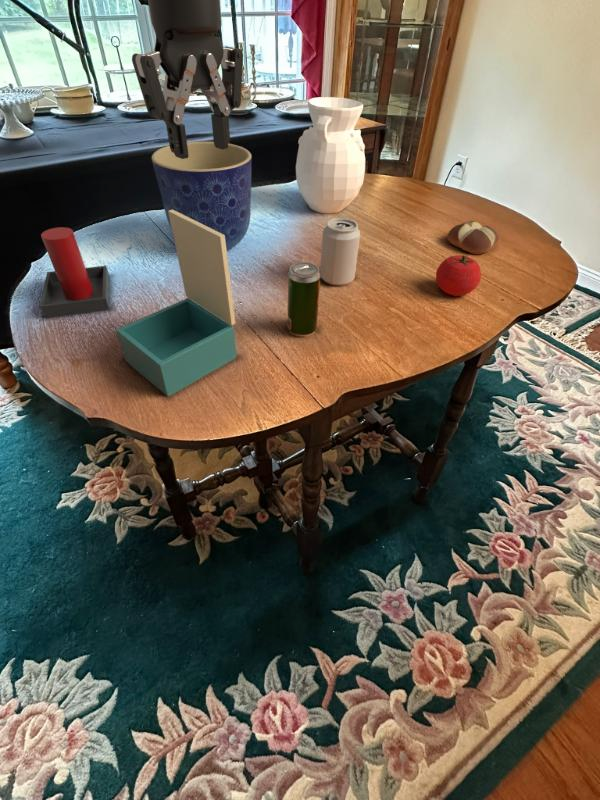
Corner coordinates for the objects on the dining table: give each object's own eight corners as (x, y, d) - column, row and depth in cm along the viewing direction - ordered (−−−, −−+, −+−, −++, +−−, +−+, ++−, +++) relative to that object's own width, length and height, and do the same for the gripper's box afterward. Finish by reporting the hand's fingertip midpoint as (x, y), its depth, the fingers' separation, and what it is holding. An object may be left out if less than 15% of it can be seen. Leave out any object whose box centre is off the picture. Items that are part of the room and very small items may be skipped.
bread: (474, 258, 102) (481, 238, 98) (439, 240, 109) (444, 220, 105) (504, 248, 106) (512, 228, 103) (469, 231, 113) (475, 212, 110)
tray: (45, 318, 79) (39, 306, 77) (51, 283, 88) (47, 271, 86) (109, 310, 82) (105, 298, 80) (109, 277, 91) (106, 265, 89)
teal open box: (167, 397, 65) (159, 365, 61) (125, 361, 71) (115, 329, 67) (236, 358, 73) (233, 326, 68) (193, 328, 78) (188, 297, 74)
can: (358, 274, 95) (365, 219, 86) (349, 290, 90) (356, 233, 81) (325, 268, 96) (329, 213, 88) (315, 283, 91) (318, 227, 83)
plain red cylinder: (98, 293, 85) (78, 233, 76) (73, 303, 82) (49, 242, 74) (84, 284, 87) (64, 224, 79) (60, 293, 84) (35, 233, 76)
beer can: (295, 341, 76) (296, 279, 68) (282, 325, 80) (282, 264, 72) (321, 334, 78) (326, 273, 70) (308, 318, 82) (311, 259, 73)
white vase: (346, 225, 113) (358, 113, 96) (283, 212, 119) (284, 103, 101) (369, 202, 126) (383, 99, 108) (311, 191, 131) (316, 91, 113)
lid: (220, 237, 57) (224, 235, 58) (167, 210, 63) (172, 209, 64) (231, 325, 68) (235, 323, 68) (185, 296, 74) (189, 294, 74)
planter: (174, 267, 94) (156, 173, 81) (163, 229, 108) (147, 144, 95) (265, 256, 99) (262, 166, 86) (244, 221, 113) (239, 138, 100)
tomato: (439, 303, 87) (450, 266, 82) (426, 281, 93) (436, 245, 88) (481, 302, 88) (494, 265, 82) (466, 280, 94) (477, 245, 89)
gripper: (213, -29, 50) (226, 137, 62) (96, -34, 42) (137, 156, 54) (257, -27, 46) (262, 149, 58) (138, -33, 39) (171, 171, 50)
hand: (201, 152), depth 56 cm, fingers open, 5 cm apart
